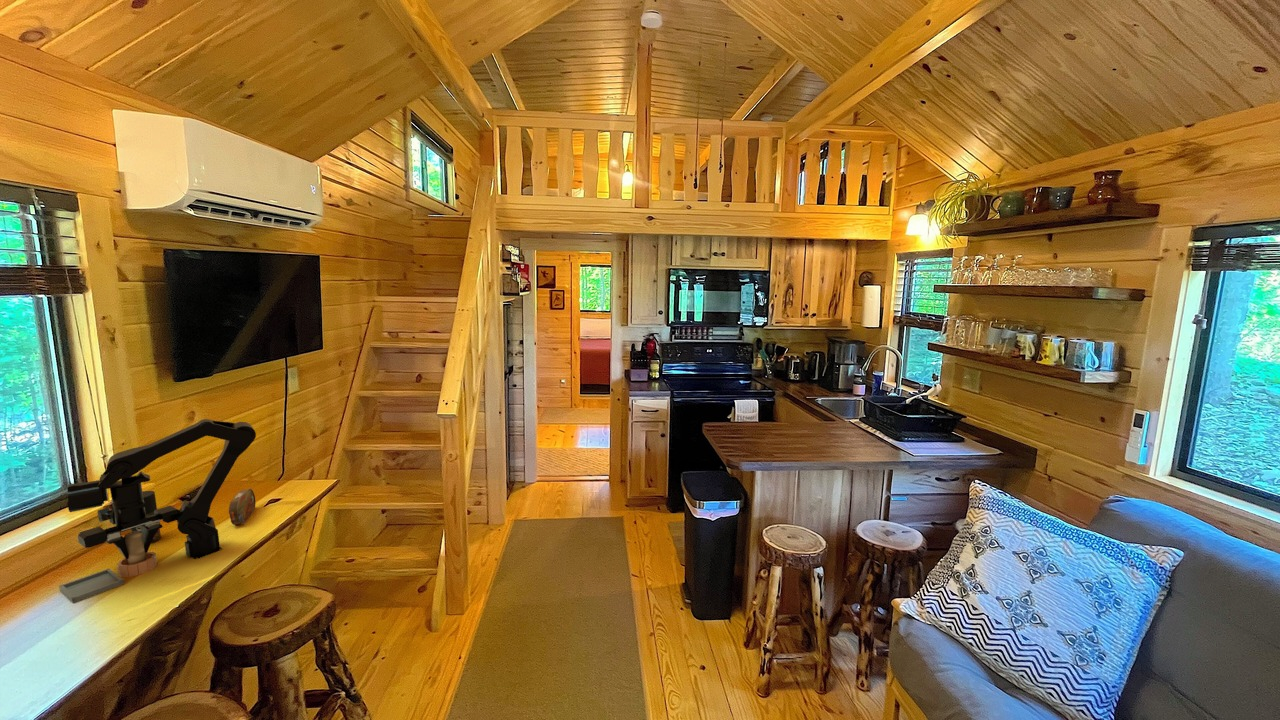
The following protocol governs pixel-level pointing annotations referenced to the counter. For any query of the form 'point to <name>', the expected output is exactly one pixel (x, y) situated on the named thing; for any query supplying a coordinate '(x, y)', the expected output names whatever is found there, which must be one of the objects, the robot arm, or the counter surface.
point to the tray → (91, 585)
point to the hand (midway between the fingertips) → (136, 555)
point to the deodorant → (149, 511)
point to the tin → (242, 507)
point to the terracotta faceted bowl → (137, 566)
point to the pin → (135, 547)
